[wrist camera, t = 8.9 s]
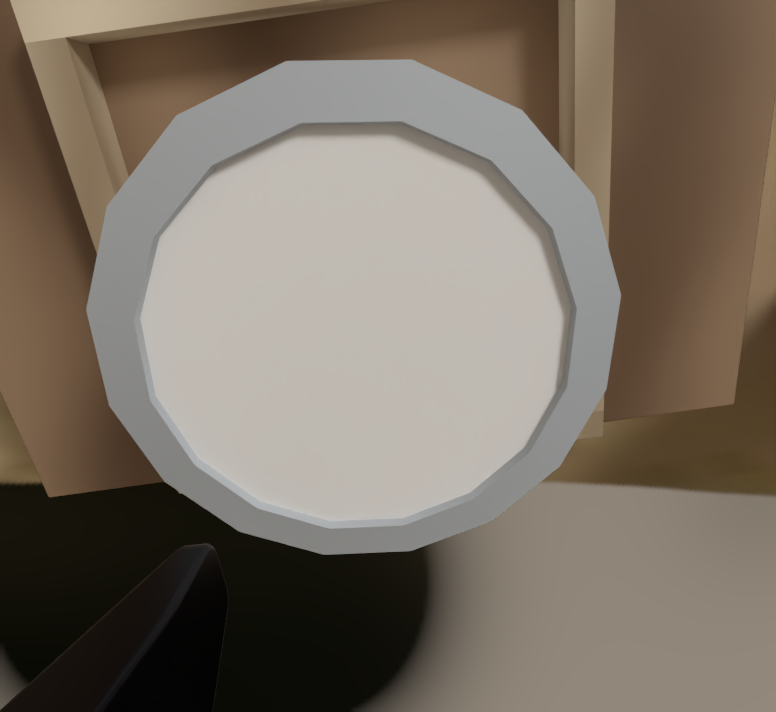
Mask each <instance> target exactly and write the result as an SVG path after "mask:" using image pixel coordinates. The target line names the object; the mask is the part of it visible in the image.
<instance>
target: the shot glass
mask: <svg viewBox="0 0 776 712" xmlns="http://www.w3.org/2000/svg"><path fill="white" fill-rule="evenodd" d="M620 300H621V293H620V289H619V285H618V281H617V278H616V274H615V270H614V267H613V263H612V259H611V255H610V252H609V248H608V244H607V241H606V237H605V233H604V229H603V226H602V222H601V218H600V214H599V211H598V207H597V203H596V200H595V196H594V195H593V194H592V192H591V191H590V190H589V189H588V188H587V187H586V185H585V184H584V183H583V182H582V181H581V179H580V178H579V177H578V176H577V175H576V173H575V172H574V171H573V170H572V169H571V168H570V166H569V165H568V164H567V163H566V162H565V160H564V159H563V158H562V157H561V156H560V154H559V153H558V152H557V151H556V150H555V149H554V147H553V146H552V145H551V144H550V143H549V141H548V140H547V139H546V138H545V137H544V135H543V134H542V133H541V132H540V131H539V129H538V128H537V127H536V126H535V125H534V124H533V122H532V121H531V120H530V119H529V118H528V116H527V115H526V114H525V113H524V112H523V110H521V109H519V108H517V107H514V106H512V105H510V104H508V103H506V102H503V101H501V100H499V99H497V98H495V97H493V96H490V95H488V94H486V93H484V92H482V91H479V90H477V89H475V88H473V87H471V86H469V85H466V84H464V83H462V82H460V81H458V80H456V79H453V78H451V77H449V76H447V75H445V74H442V73H440V72H438V71H436V70H434V69H432V68H429V67H427V66H425V65H423V64H421V63H418V62H416V61H414V60H412V59H406V60H320V61H285V62H283V63H281V64H279V65H277V66H275V67H273V68H271V69H269V70H267V71H265V72H263V73H261V74H259V75H257V76H255V77H253V78H251V79H249V80H247V81H245V82H243V83H241V84H239V85H237V86H235V87H232V88H230V89H228V90H226V91H224V92H222V93H220V94H218V95H216V96H214V97H212V98H210V99H208V100H206V101H204V102H202V103H200V104H198V105H196V106H194V107H192V108H190V109H188V110H186V111H184V112H182V113H180V114H178V115H176V116H175V118H174V119H173V120H172V122H171V123H170V124H169V126H168V127H167V128H166V129H165V131H164V132H163V133H162V135H161V136H160V137H159V139H158V140H157V141H156V143H155V144H154V145H153V146H152V148H151V149H150V150H149V152H148V153H147V154H146V156H145V157H144V158H143V160H142V161H141V162H140V163H139V165H138V166H137V167H136V169H135V170H134V171H133V173H132V174H131V175H130V177H129V178H128V179H127V180H126V182H125V183H124V184H123V186H122V187H121V188H120V190H119V191H118V192H117V194H116V195H115V196H114V197H113V199H112V200H111V201H110V203H109V204H108V205H107V208H106V213H105V218H104V223H103V228H102V233H101V238H100V243H99V248H98V253H97V258H96V263H95V268H94V273H93V278H92V283H91V288H90V293H89V298H88V303H87V308H86V311H87V316H88V320H89V324H90V328H91V332H92V336H93V341H94V345H95V349H96V353H97V357H98V361H99V366H100V370H101V374H102V378H103V382H104V386H105V390H106V395H107V399H108V403H109V406H110V408H111V409H112V410H113V412H114V413H115V414H116V416H117V417H118V419H119V420H120V421H121V423H122V424H123V425H124V427H125V428H126V430H127V431H128V432H129V434H130V435H131V436H132V438H133V439H134V441H135V442H136V443H137V445H138V446H139V447H140V449H141V450H142V452H143V453H144V454H145V456H146V457H147V458H148V460H149V461H150V463H151V464H152V465H153V467H154V468H155V469H156V471H157V472H158V474H159V475H160V476H161V478H162V479H163V480H164V482H166V483H167V484H169V485H170V486H172V487H173V488H175V489H176V490H178V491H179V492H181V493H182V494H184V495H186V496H187V497H188V498H190V499H191V500H193V501H194V502H196V503H197V504H199V505H200V506H202V507H203V508H205V509H206V510H208V511H209V512H211V513H212V514H214V515H215V516H217V517H218V518H220V519H221V520H223V521H224V522H226V523H227V524H229V525H230V526H232V527H233V528H235V529H236V530H238V531H239V532H243V533H247V534H250V535H254V536H258V537H261V538H265V539H268V540H272V541H276V542H280V543H283V544H287V545H290V546H294V547H298V548H302V549H306V550H309V551H313V552H317V553H320V554H324V555H327V554H350V553H374V552H397V551H412V550H415V549H417V548H420V547H423V546H425V545H428V544H431V543H434V542H436V541H439V540H442V539H444V538H447V537H450V536H452V535H455V534H458V533H461V532H463V531H466V530H469V529H472V528H474V527H477V526H480V525H482V524H485V523H488V522H491V521H493V520H494V519H495V518H496V517H497V516H499V515H500V514H501V513H503V512H504V511H505V510H506V509H507V508H509V507H510V506H511V505H512V504H514V503H515V502H516V501H517V500H519V499H520V498H521V497H522V496H524V495H525V494H526V493H527V492H529V491H530V490H531V489H532V488H534V487H535V486H536V485H537V484H539V483H540V482H541V481H542V480H544V479H545V478H546V477H547V476H549V475H550V474H551V473H552V472H554V471H555V470H556V469H557V468H559V467H560V466H561V464H562V462H563V461H564V459H565V457H566V456H567V454H568V452H569V451H570V449H571V447H572V446H573V444H574V442H575V441H576V439H577V437H578V436H579V434H580V432H581V431H582V429H583V427H584V426H585V424H586V422H587V421H588V419H589V417H590V416H591V414H592V412H593V411H594V409H595V407H596V406H597V404H598V402H599V401H600V399H601V397H602V396H603V394H604V392H605V391H606V389H607V383H608V376H609V370H610V364H611V357H612V351H613V345H614V338H615V332H616V325H617V319H618V313H619V306H620Z"/></svg>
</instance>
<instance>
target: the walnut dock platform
mask: <svg viewBox="0 0 776 712" xmlns="http://www.w3.org/2000/svg"><path fill="white" fill-rule="evenodd" d="M406 59H412V60H414V61H416V62H418V63H421V64H423V65H425V66H427V67H429V68H432V69H434V70H436V71H438V72H440V73H442V74H445V75H447V76H449V77H451V78H453V79H456V80H458V81H460V82H462V83H464V84H466V85H469V86H471V87H473V88H475V89H477V90H479V91H482V92H484V93H486V94H488V95H490V96H493V97H495V98H497V99H499V100H501V101H503V102H506V103H508V104H510V105H512V106H514V107H517V108H519V109H521V110H523V112H524V113H525V114H526V115H527V116H528V118H529V119H530V120H531V121H532V122H533V124H534V125H535V126H536V127H537V128H538V129H539V131H540V132H541V133H542V134H543V135H544V137H545V138H546V139H547V140H548V141H549V143H550V144H551V145H552V146H553V147H554V149H555V150H556V151H557V152H558V153H559V154H560V156H561V157H562V158H563V159H564V160H565V162H566V163H567V164H568V165H569V166H570V168H571V169H572V170H573V171H574V172H575V173H576V175H577V176H578V177H579V178H580V179H581V181H582V182H583V183H584V184H585V185H586V187H587V188H588V189H589V190H590V191H591V192H592V194H593V195H594V196H595V200H596V203H597V207H598V211H599V214H600V218H601V222H602V226H603V229H604V233H605V237H606V241H607V244H608V248H609V252H610V255H611V259H612V263H613V267H614V270H615V274H616V278H617V281H618V285H619V289H620V293H621V300H620V306H619V313H618V319H617V325H616V332H615V338H614V345H613V351H612V357H611V364H610V370H609V376H608V383H607V389H606V391H605V392H604V394H603V396H602V397H601V399H600V401H599V402H598V404H597V406H596V407H595V409H594V411H593V412H592V414H591V416H590V417H589V419H588V421H587V422H586V424H585V426H584V427H583V429H582V431H581V432H580V434H579V436H578V437H577V439H576V440H579V439H586V438H594V437H601V436H603V422H607V421H615V420H622V419H629V418H637V417H644V416H651V415H659V414H666V413H673V412H681V411H688V410H696V409H703V408H710V407H718V406H725V405H732V404H734V400H735V393H736V385H737V378H738V370H739V363H740V355H741V348H742V340H743V333H744V326H745V318H746V311H747V303H748V296H749V288H750V281H751V273H752V266H753V259H754V251H755V244H756V236H757V229H758V221H759V214H760V207H761V199H762V192H763V184H764V177H765V169H766V162H767V154H768V147H769V140H770V132H771V125H772V117H773V110H774V102H775V95H776V0H0V391H1V394H2V396H3V398H4V400H5V402H6V405H7V407H8V409H9V411H10V413H11V415H12V418H13V420H14V422H15V424H16V426H17V429H18V431H19V433H20V435H21V437H22V439H23V442H24V444H25V446H26V448H27V450H28V453H29V455H30V457H31V459H32V461H33V463H34V466H35V468H36V470H37V472H38V474H39V477H40V479H41V481H42V483H43V485H44V487H45V490H46V492H47V494H48V496H49V497H54V496H62V495H70V494H77V493H84V492H92V491H99V490H107V489H114V488H121V487H128V486H136V485H143V484H151V483H158V482H164V480H163V479H162V478H161V476H160V475H159V474H158V472H157V471H156V469H155V468H154V467H153V465H152V464H151V463H150V461H149V460H148V458H147V457H146V456H145V454H144V453H143V452H142V450H141V449H140V447H139V446H138V445H137V443H136V442H135V441H134V439H133V438H132V436H131V435H130V434H129V432H128V431H127V430H126V428H125V427H124V425H123V424H122V423H121V421H120V420H119V419H118V417H117V416H116V414H115V413H114V412H113V410H112V409H111V408H110V406H109V403H108V399H107V395H106V390H105V386H104V382H103V378H102V374H101V370H100V366H99V361H98V357H97V353H96V349H95V345H94V341H93V336H92V332H91V328H90V324H89V320H88V316H87V311H86V308H87V303H88V298H89V293H90V288H91V283H92V278H93V273H94V268H95V263H96V258H97V253H98V248H99V243H100V238H101V233H102V228H103V223H104V218H105V213H106V208H107V205H108V204H109V203H110V201H111V200H112V199H113V197H114V196H115V195H116V194H117V192H118V191H119V190H120V188H121V187H122V186H123V184H124V183H125V182H126V180H127V179H128V178H129V177H130V175H131V174H132V173H133V171H134V170H135V169H136V167H137V166H138V165H139V163H140V162H141V161H142V160H143V158H144V157H145V156H146V154H147V153H148V152H149V150H150V149H151V148H152V146H153V145H154V144H155V143H156V141H157V140H158V139H159V137H160V136H161V135H162V133H163V132H164V131H165V129H166V128H167V127H168V126H169V124H170V123H171V122H172V120H173V119H174V118H175V116H176V115H178V114H180V113H182V112H184V111H186V110H188V109H190V108H192V107H194V106H196V105H198V104H200V103H202V102H204V101H206V100H208V99H210V98H212V97H214V96H216V95H218V94H220V93H222V92H224V91H226V90H228V89H230V88H232V87H235V86H237V85H239V84H241V83H243V82H245V81H247V80H249V79H251V78H253V77H255V76H257V75H259V74H261V73H263V72H265V71H267V70H269V69H271V68H273V67H275V66H277V65H279V64H281V63H283V62H285V61H320V60H406ZM178 492H179V491H178ZM180 493H181V492H179V494H180Z"/></svg>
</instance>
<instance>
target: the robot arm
mask: <svg viewBox="0 0 776 712" xmlns="http://www.w3.org/2000/svg"><path fill="white" fill-rule="evenodd" d="M227 610H228V592H227V586H226V583H225V580H224V576H223V573H222V570H221V567H220V563H219V560H218V556H217V553H216V550H215V549H214V547H213V546H212V545H210V544H197V545H188V546H183V547H180V548H179V549H178V550H176V551H175V552H174V553H173V554H172V555H170V556H169V557H168V558H167V559H166V560H165V561H164V562H163V563H162V564H161V565H159V566H158V567H157V568H156V569H155V570H154V571H153V572H152V573H151V574H150V575H148V576H147V577H146V578H145V579H144V580H143V581H142V582H141V583H140V584H139V585H137V586H136V587H135V588H134V589H133V590H132V591H131V592H130V593H129V594H128V595H126V596H125V597H124V598H123V599H122V600H121V601H120V602H119V603H118V604H117V605H115V606H114V607H113V608H112V609H111V610H110V611H109V612H108V613H107V614H106V615H104V616H103V617H102V618H101V619H100V620H99V621H98V622H97V623H96V624H95V625H93V626H92V627H91V628H90V629H89V630H88V631H87V632H86V633H85V634H83V635H82V636H81V637H80V638H79V639H78V640H77V641H76V642H75V643H74V644H72V645H71V646H70V647H69V648H68V649H67V650H66V651H65V652H64V653H63V654H61V655H60V656H59V657H58V658H57V659H56V660H55V661H54V662H53V663H52V664H50V665H49V666H48V667H47V668H46V669H45V670H44V671H43V672H42V673H41V674H40V675H38V676H37V677H36V678H35V679H34V680H33V681H32V682H31V683H30V684H28V685H27V686H26V687H25V688H24V689H23V690H22V691H21V692H20V693H19V694H17V695H16V696H15V697H14V698H13V699H12V700H11V701H10V702H9V703H8V704H7V705H5V706H4V707H3V708H2V709H1V710H0V712H212V711H213V705H214V698H215V691H216V684H217V678H218V671H219V664H220V657H221V650H222V643H223V637H224V630H225V623H226V617H227Z"/></svg>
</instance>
